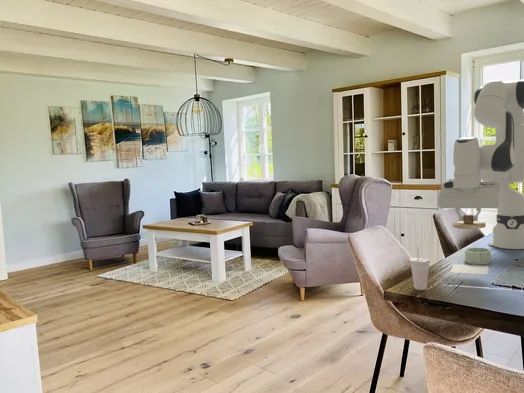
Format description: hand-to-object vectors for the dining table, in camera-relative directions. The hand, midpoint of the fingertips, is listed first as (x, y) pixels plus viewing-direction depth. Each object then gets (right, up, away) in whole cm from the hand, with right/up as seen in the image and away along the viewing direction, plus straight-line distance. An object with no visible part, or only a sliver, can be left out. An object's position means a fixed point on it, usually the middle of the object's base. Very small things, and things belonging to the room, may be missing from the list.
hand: (468, 220), depth 162 cm
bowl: (+9, -17, +12) cm, 23 cm away
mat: (+1, -19, +2) cm, 19 cm away
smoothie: (-23, -22, -15) cm, 35 cm away
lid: (0, -2, 0) cm, 2 cm away
